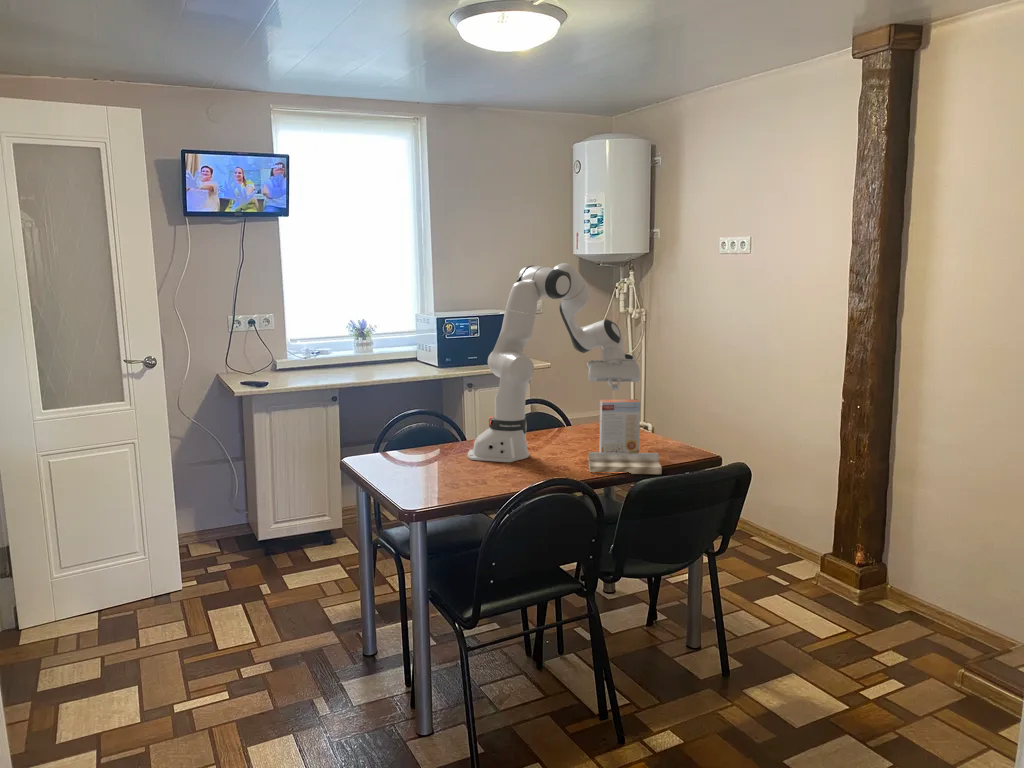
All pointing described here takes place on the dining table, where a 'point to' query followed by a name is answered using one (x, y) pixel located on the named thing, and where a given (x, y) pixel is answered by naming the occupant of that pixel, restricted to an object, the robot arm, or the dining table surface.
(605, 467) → the birch plank
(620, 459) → the edge rail
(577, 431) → the dining table surface
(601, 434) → the cracker box
